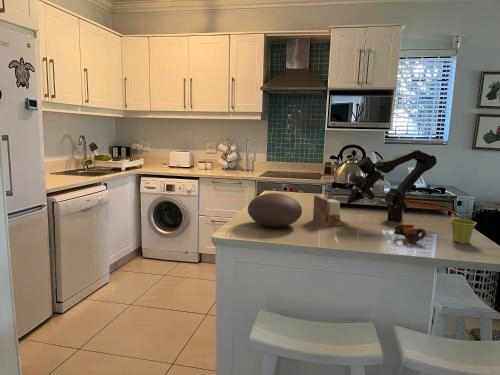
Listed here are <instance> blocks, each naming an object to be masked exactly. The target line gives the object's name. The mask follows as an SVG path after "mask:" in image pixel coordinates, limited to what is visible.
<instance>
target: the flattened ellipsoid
mask: <svg viewBox="0 0 500 375" xmlns="http://www.w3.org/2000/svg"><path fill="white" fill-rule="evenodd" d="M302 208H303V207H302V206H301V204H300V203H299V201H298V200H296V198H293V197H292V196H290V195H288V194H285V193H284V194H283V193H277V192H274V193H272V192H270V193H264V194H260V195H258V196H256V197H254V198H253V199H252V200H251V201H250V202H249V203H248V205H247V213H248V216H249V217H250V218H251V219H252V220H253V221H254V222H256V223H258V224H260V225H262V226H266V227H270V228H280V227H286V226H290V225H292V224H294V223H296V222H297V221H298V220H299V219H300V217H301V216H302V213H303V210H302Z"/></svg>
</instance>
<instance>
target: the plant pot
mask: <svg viewBox="0 0 500 375" xmlns="http://www.w3.org/2000/svg"><path fill="white" fill-rule="evenodd" d="M450 222H451V228H452V230H451V231H452V232H451V233H452V234H451V235H452V242H454V243H458V244H465V245H467V244H470V242H471V240H472V235H473V231H474V229H475V227H476V225H477V222H476V221H473V220H469V219H462V218H451V219H450Z"/></svg>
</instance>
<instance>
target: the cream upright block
mask: <svg viewBox="0 0 500 375" xmlns="http://www.w3.org/2000/svg"><path fill="white" fill-rule="evenodd" d="M326 199H327V198H326ZM340 208H341V201H339V200H336V199H334V198H333V199H331V198H330V199H327V212H326V219H327V215H340V214H341V213H340V211H341V210H340Z"/></svg>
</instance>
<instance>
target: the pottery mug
mask: <svg viewBox="0 0 500 375" xmlns="http://www.w3.org/2000/svg"><path fill="white" fill-rule="evenodd" d="M420 233H421V235H420ZM393 235H399V236H403V237H404V238H402V239H401V240H402V244H403V245H417V244H418V242H419V241H421V240H423V239H425V237H426V236H427V232H426V230H425V229H424V228H415V227H414V225H413V224H401V225H397V226H395V227H394V231H393ZM419 243H420V242H419Z"/></svg>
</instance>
